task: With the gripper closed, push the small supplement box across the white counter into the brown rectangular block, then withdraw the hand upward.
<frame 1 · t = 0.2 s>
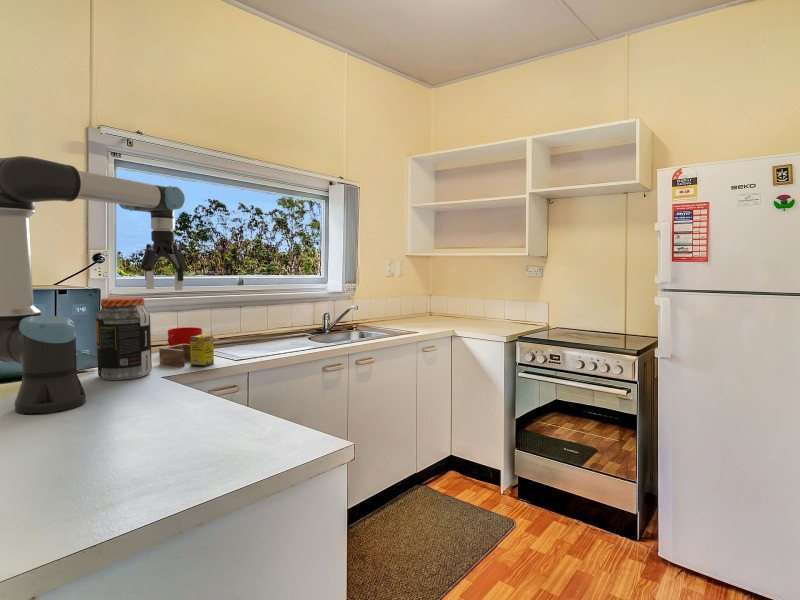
hand: (164, 289, 176), 28 cm above the worktop, fingers open, 13 cm apart
supplement box: (202, 365, 179), on the worktop
brown rectangular block: (182, 362, 183), on the worktop
red ribbed container: (182, 354, 199), on the worktop
supplement tub: (125, 376, 162), on the worktop
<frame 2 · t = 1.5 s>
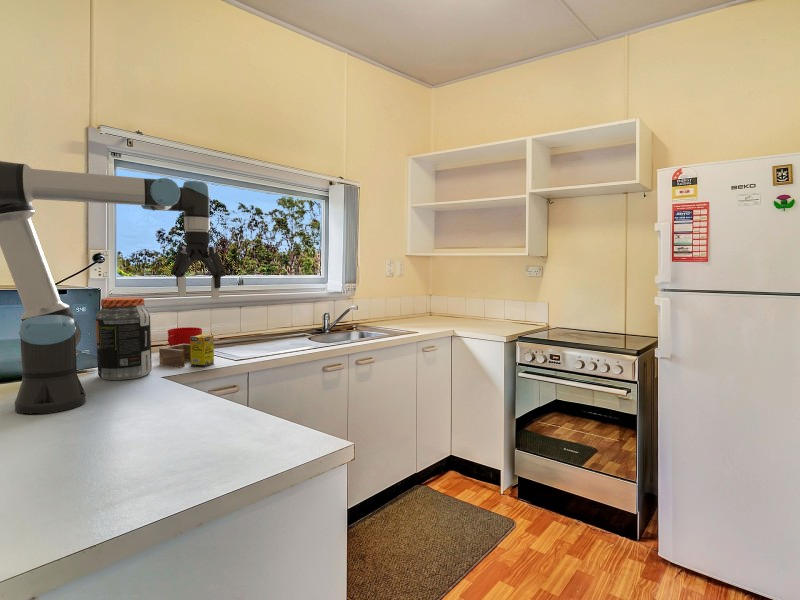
hand: (198, 297, 156), 27 cm above the worktop, fingers open, 13 cm apart
nothing on the worktop moved.
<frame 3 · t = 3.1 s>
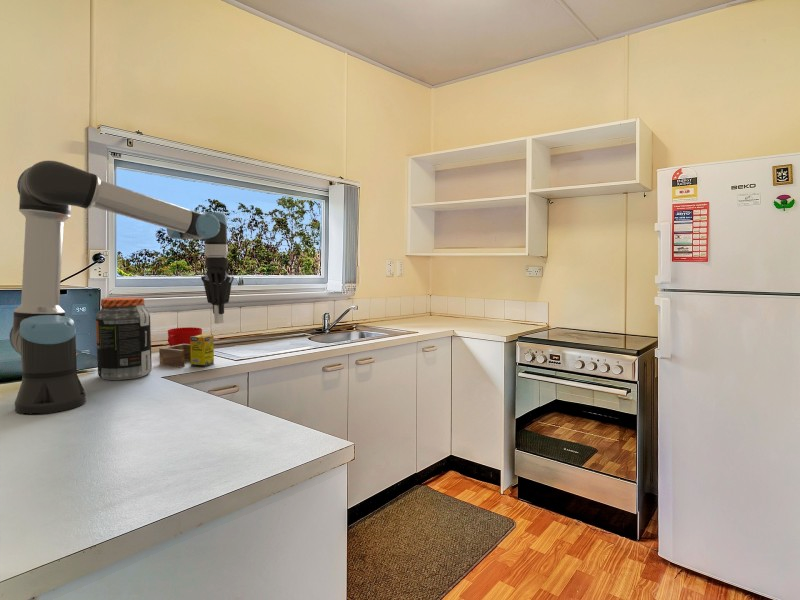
hand: (219, 323, 173), 16 cm above the worktop, fingers closed
nothing on the worktop moved.
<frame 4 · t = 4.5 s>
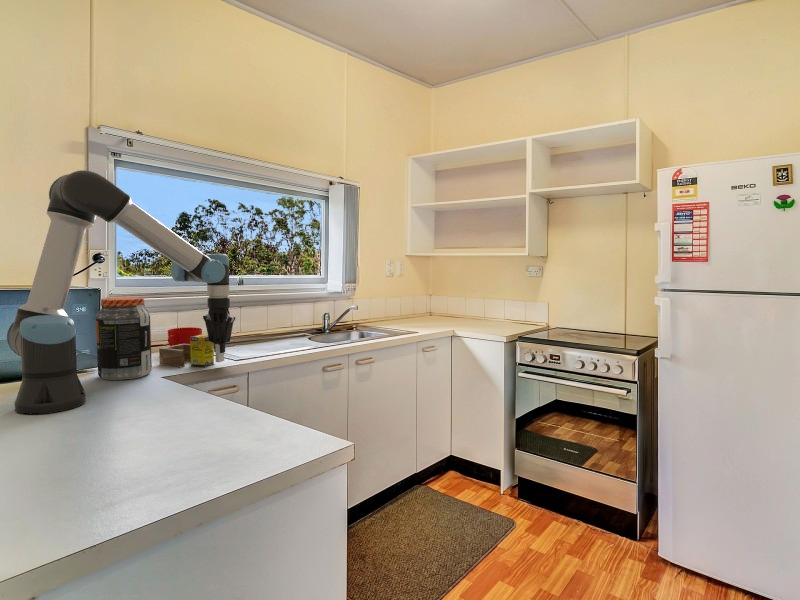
hand: (219, 361, 176), 2 cm above the worktop, fingers closed
nothing on the worktop moved.
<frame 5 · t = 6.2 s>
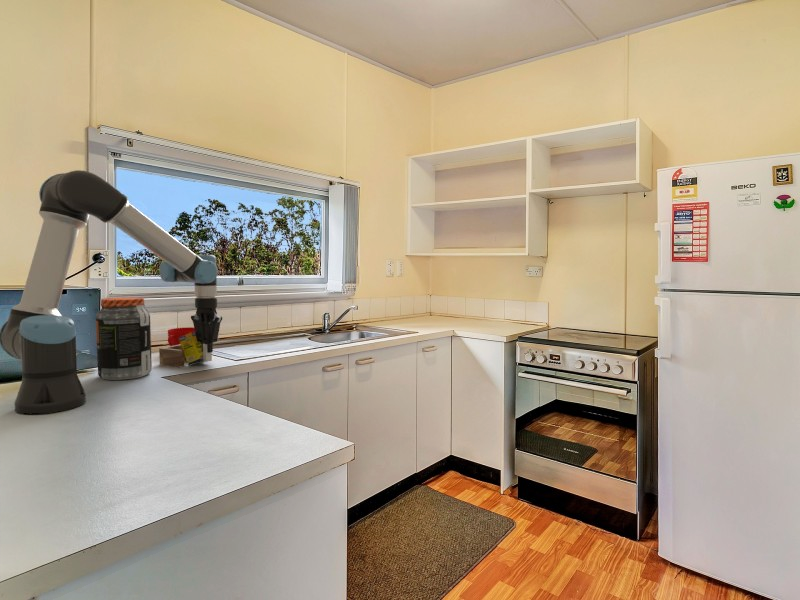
hand: (207, 361, 178), 2 cm above the worktop, fingers closed
supplement box: (200, 362, 180), point 1 cm above the worktop, touching gripper, hand
everything else where it was.
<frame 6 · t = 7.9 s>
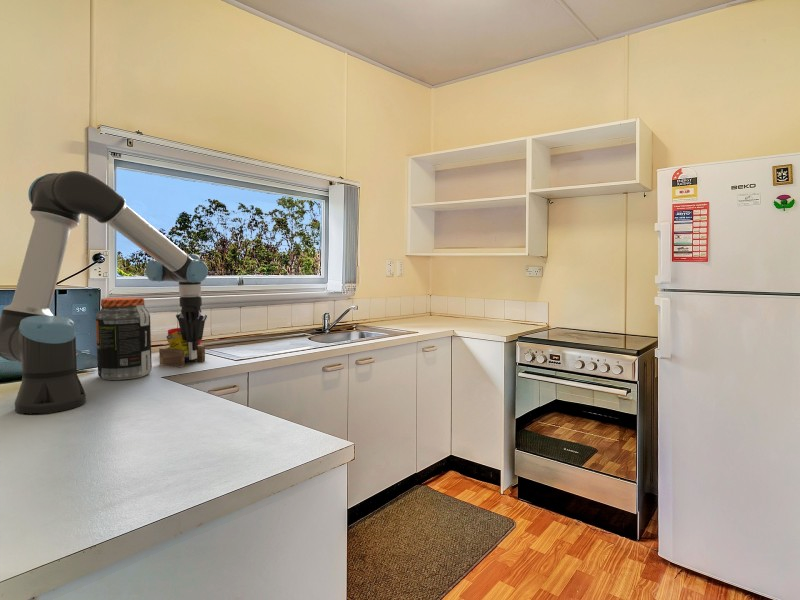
hand: (193, 358, 181), 2 cm above the worktop, fingers closed
supplement box: (187, 360, 183), point 1 cm above the worktop, touching brown rectangular block, gripper, hand
everything else where it was.
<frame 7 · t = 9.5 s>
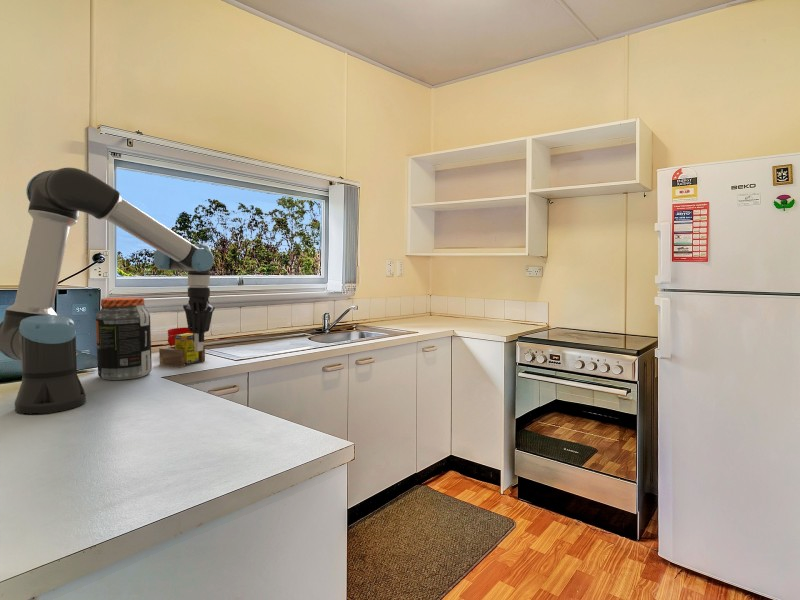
hand: (198, 350, 179), 5 cm above the worktop, fingers closed
supplement box: (187, 363, 183), on the worktop
everything else where it was.
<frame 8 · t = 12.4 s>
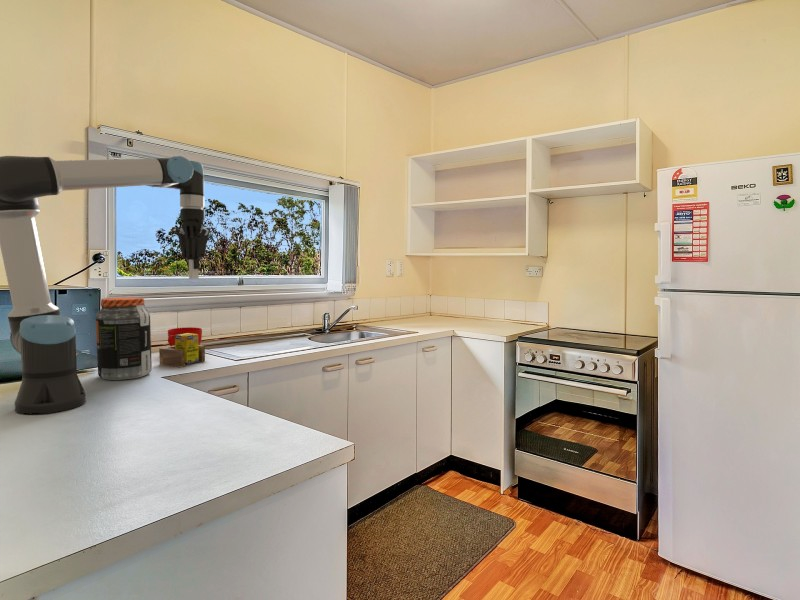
hand: (193, 278, 165), 32 cm above the worktop, fingers closed
nothing on the worktop moved.
at the end: supplement box inside the target area (2.2 cm from its centre), on the worktop; supplement box tilted 0° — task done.
